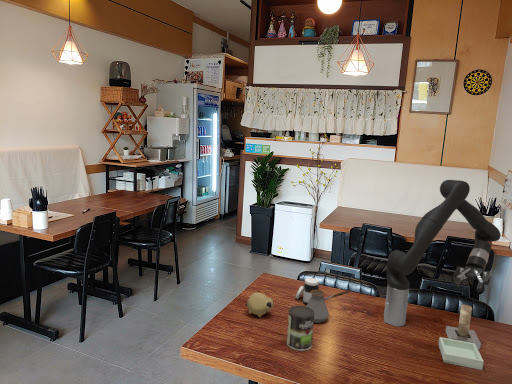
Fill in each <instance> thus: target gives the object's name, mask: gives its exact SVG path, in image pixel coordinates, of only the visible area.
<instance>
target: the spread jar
mask: <svg viewBox="0 0 512 384" xmlns="http://www.w3.org/2000/svg"><path fill="white" fill-rule="evenodd" d="M319 281H320V280H319V279H317V278H315V277H307V278H305V279H304V284H303V285H301V286H300V287H299V289H298V290H297V292H296V294H295V297H294V298H295V299H296V300H299V299H300V297H301V296H302V302H303V304H305V305H307V304H308V302H309V300H310V298H311V297H312V294H311V291H312V290H320V286H319V283H320V282H319Z"/></svg>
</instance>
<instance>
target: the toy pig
mask: <svg viewBox="0 0 512 384" xmlns="http://www.w3.org/2000/svg"><path fill="white" fill-rule="evenodd" d="M246 304H247V308H248V314H250V315H251V314H253V315H257V317H258V318H261V317H262V316H263V315H265V314H267V312H269V311H270V310H271V309H272V308H273V307H274V300H273V298H272V297H269V296H267V295H265V294H264V293H261V292H253V293H252V294H250V295H249V297H248V299H247V303H246Z"/></svg>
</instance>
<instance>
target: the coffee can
mask: <svg viewBox="0 0 512 384" xmlns="http://www.w3.org/2000/svg"><path fill="white" fill-rule="evenodd" d="M287 317H288V319H287V331H286V332H287V333H286V335H287V336H286V345H287V347H288V348H290V349H291V350H294V351H297V352H304V351H305V352H306V351H309V350H310V349H312V347H313V332H314V311H313V310H312V309H311V308H309V307H306V306H304V305H294V306H291V307H289V308H288V316H287Z"/></svg>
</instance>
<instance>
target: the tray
mask: <svg viewBox="0 0 512 384" xmlns="http://www.w3.org/2000/svg"><path fill="white" fill-rule="evenodd" d="M438 348H439V351H440V354H441V356H442V360H443V363H445V364H449V365H450V364H451V365H455V366H461V367H465V368H470V369H475V370H480V371H483V369H484V360H483V358H482V355H481V353H480V350H479V349H477V347H476V345H475V343H470V342H464V341H458V340H453V339H448V337H441V336H439V338H438Z"/></svg>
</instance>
